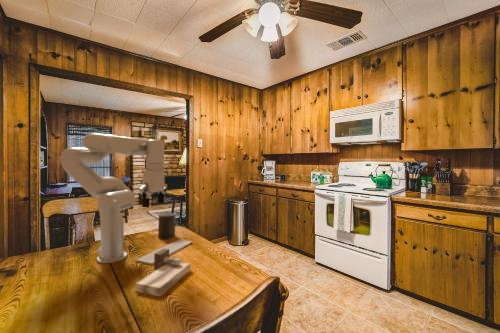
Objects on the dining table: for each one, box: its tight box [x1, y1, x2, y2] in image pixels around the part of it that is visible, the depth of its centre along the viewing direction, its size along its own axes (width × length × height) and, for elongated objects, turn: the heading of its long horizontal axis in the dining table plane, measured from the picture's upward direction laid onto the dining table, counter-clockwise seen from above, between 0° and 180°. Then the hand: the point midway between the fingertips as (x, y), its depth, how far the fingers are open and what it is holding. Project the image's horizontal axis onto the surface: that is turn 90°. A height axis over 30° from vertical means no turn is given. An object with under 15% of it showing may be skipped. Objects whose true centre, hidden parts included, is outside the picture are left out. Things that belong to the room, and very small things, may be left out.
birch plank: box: [135, 261, 191, 297], centre depth 93 cm, size 10×20×3 cm, turn 163°
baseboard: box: [134, 237, 194, 266], centre depth 122 cm, size 31×3×12 cm
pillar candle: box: [157, 212, 176, 240], centre depth 145 cm, size 10×10×15 cm
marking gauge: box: [153, 249, 182, 272], centre depth 100 cm, size 10×6×8 cm, turn 74°
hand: (153, 204), depth 107 cm, fingers open, 9 cm apart
